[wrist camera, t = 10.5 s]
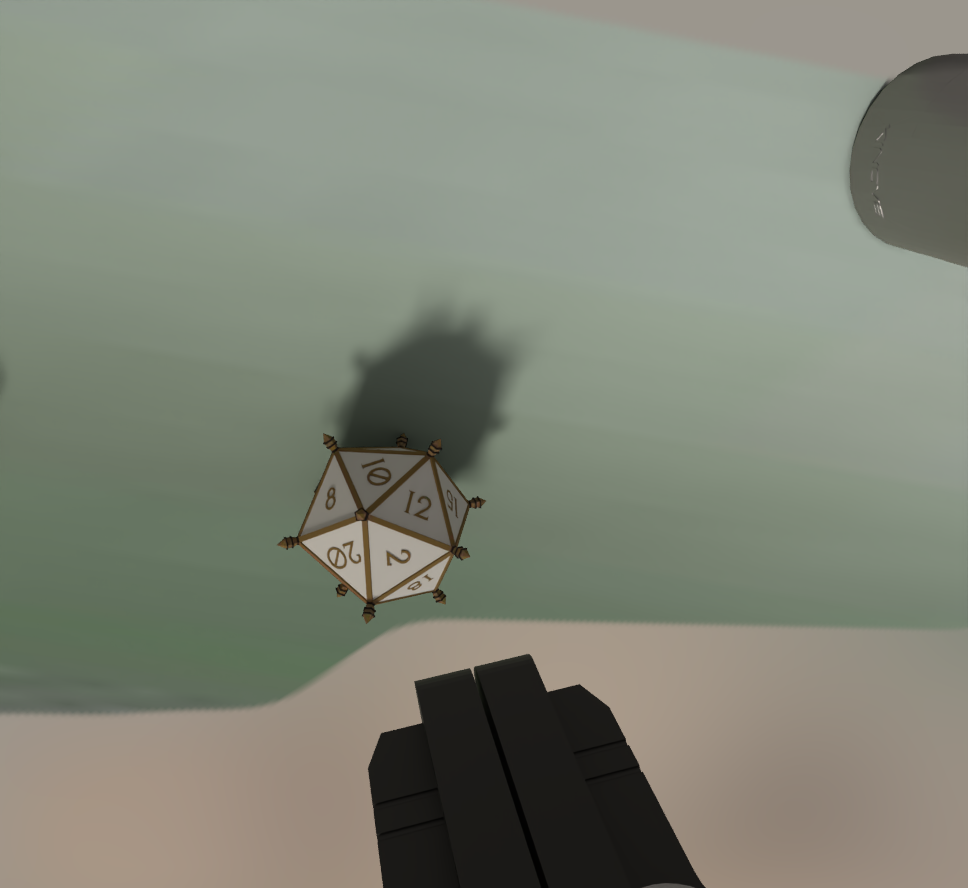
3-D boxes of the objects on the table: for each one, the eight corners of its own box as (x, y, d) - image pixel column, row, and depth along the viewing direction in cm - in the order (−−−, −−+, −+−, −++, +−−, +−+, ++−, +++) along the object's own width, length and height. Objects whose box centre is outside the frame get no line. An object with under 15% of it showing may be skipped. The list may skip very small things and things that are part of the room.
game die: (365, 489, 48) (327, 666, 42) (279, 395, 42) (221, 587, 36) (519, 468, 45) (500, 657, 39) (451, 362, 38) (416, 569, 33)
